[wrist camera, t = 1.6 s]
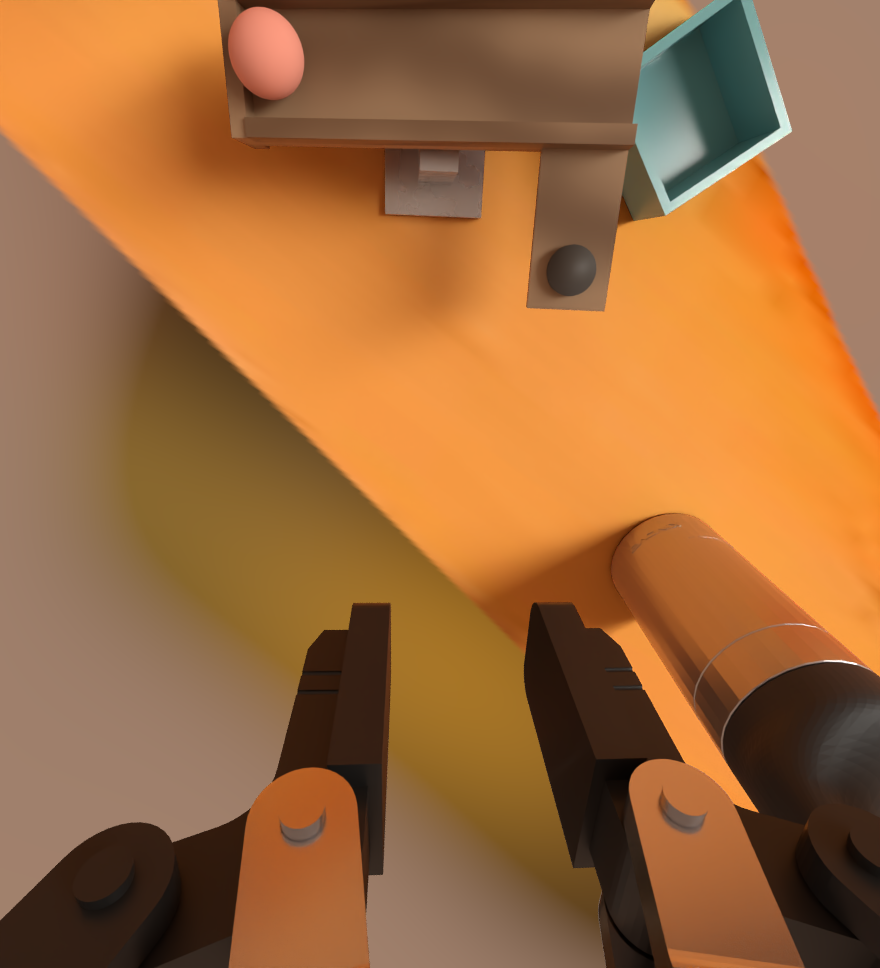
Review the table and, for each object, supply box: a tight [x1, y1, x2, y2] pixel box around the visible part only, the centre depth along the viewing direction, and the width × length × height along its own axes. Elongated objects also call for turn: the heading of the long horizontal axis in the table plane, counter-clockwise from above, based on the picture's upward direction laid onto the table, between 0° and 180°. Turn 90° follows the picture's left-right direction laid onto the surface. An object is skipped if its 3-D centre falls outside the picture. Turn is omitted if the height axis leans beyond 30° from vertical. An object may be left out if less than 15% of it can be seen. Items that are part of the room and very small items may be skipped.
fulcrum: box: [385, 148, 485, 219], centre depth 27 cm, size 11×6×8 cm, turn 178°
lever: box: [218, 0, 655, 311], centre depth 26 cm, size 13×19×3 cm
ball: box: [228, 7, 304, 100], centre depth 23 cm, size 3×3×3 cm
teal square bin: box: [622, 0, 792, 221], centre depth 30 cm, size 8×8×5 cm
